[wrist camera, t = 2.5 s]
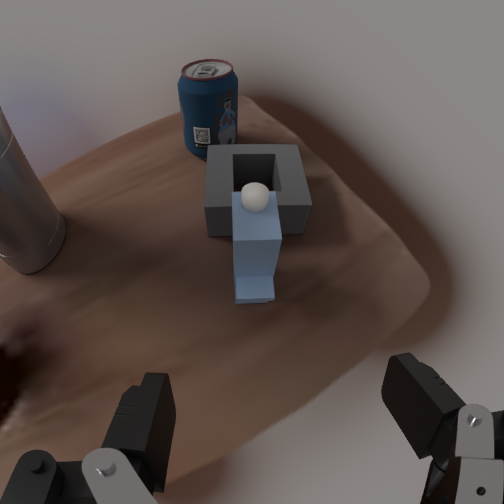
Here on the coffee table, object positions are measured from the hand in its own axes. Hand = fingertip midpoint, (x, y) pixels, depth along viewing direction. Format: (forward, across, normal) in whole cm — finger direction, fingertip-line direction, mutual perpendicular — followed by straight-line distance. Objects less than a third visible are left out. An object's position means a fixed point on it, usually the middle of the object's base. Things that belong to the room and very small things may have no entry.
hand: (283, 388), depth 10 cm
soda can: (+33, +4, -11) cm, 35 cm away
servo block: (+19, 0, +3) cm, 19 cm away
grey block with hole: (+26, -1, -4) cm, 26 cm away
